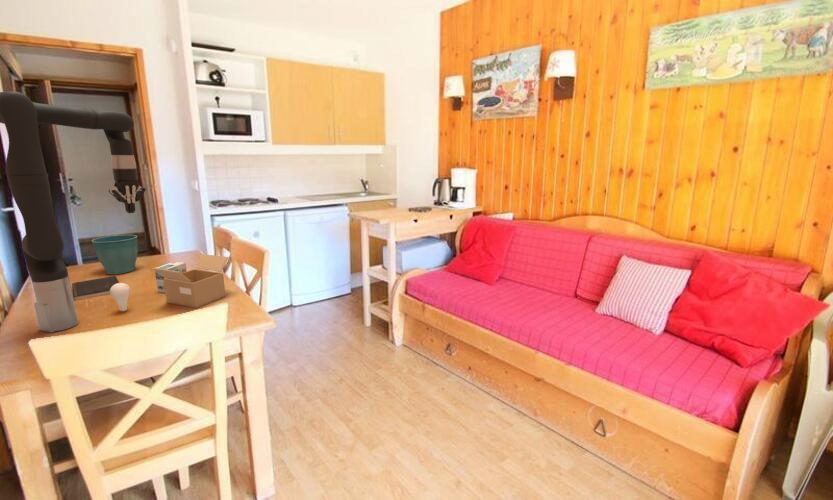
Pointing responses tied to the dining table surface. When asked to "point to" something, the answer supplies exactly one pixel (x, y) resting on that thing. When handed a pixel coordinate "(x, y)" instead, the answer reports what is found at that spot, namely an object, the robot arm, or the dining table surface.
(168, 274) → the near flap
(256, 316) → the dining table surface
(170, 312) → the dining table surface
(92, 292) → the hardcover book
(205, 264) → the far flap
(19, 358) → the dining table surface
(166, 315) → the dining table surface
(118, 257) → the flower pot
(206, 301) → the carton
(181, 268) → the light bulb box
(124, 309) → the lightbulb
